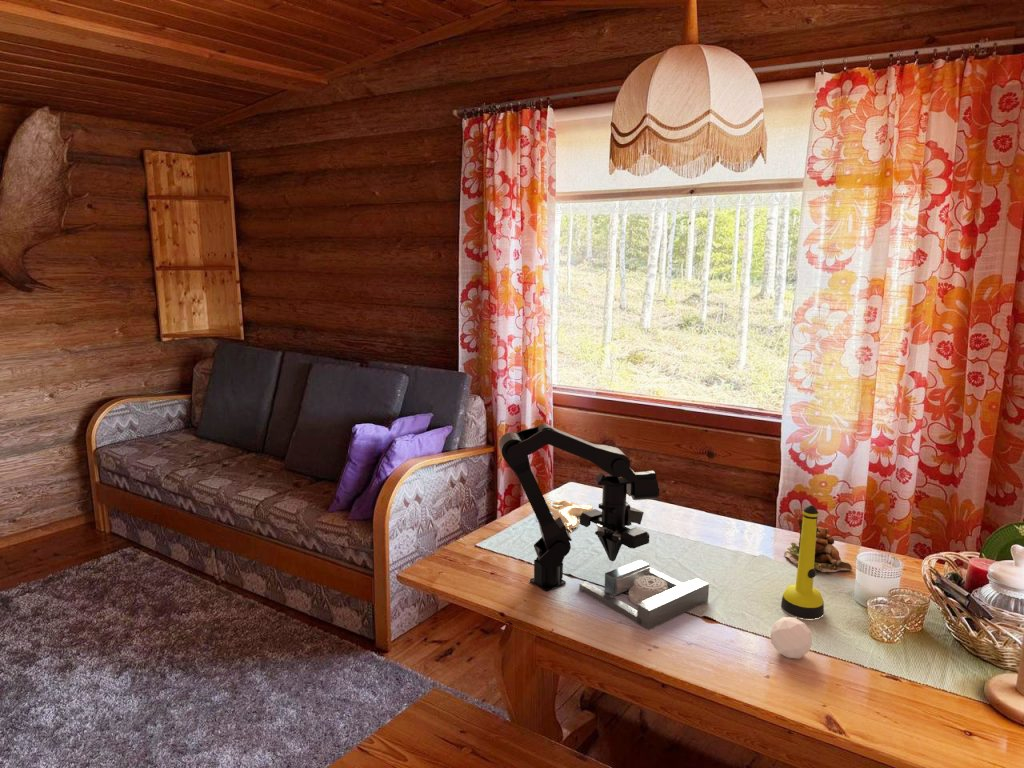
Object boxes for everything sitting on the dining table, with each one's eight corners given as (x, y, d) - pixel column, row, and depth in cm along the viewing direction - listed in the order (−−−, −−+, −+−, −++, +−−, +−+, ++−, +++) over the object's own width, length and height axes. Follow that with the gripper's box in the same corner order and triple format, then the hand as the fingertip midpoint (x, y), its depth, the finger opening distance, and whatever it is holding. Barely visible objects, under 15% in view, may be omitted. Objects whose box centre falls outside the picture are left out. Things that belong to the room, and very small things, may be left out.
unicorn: (571, 491, 217) (613, 509, 205) (570, 502, 218) (612, 521, 206) (527, 506, 204) (569, 526, 192) (526, 518, 204) (568, 539, 193)
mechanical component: (675, 611, 153) (667, 589, 162) (676, 592, 152) (668, 572, 162) (631, 610, 153) (626, 588, 163) (632, 592, 152) (626, 571, 162)
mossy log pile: (819, 580, 167) (823, 533, 165) (775, 555, 181) (778, 512, 178) (860, 570, 172) (864, 525, 169) (814, 547, 185) (818, 505, 183)
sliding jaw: (615, 597, 158) (615, 579, 157) (604, 591, 161) (605, 573, 160) (650, 582, 165) (651, 564, 164) (639, 576, 168) (640, 559, 167)
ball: (777, 662, 138) (762, 622, 141) (817, 652, 136) (800, 611, 139) (780, 664, 131) (764, 622, 134) (822, 653, 129) (805, 611, 133)
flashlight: (780, 501, 150) (812, 515, 142) (810, 495, 154) (843, 509, 145) (772, 604, 155) (802, 624, 147) (801, 596, 158) (832, 615, 150)
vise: (648, 629, 145) (649, 610, 144) (579, 589, 162) (579, 572, 161) (707, 601, 156) (709, 583, 155) (637, 566, 174) (638, 550, 173)
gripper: (666, 504, 160) (663, 565, 163) (611, 483, 175) (609, 539, 178) (633, 515, 154) (631, 578, 157) (578, 492, 169) (577, 550, 172)
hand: (612, 560), depth 166 cm, fingers closed
